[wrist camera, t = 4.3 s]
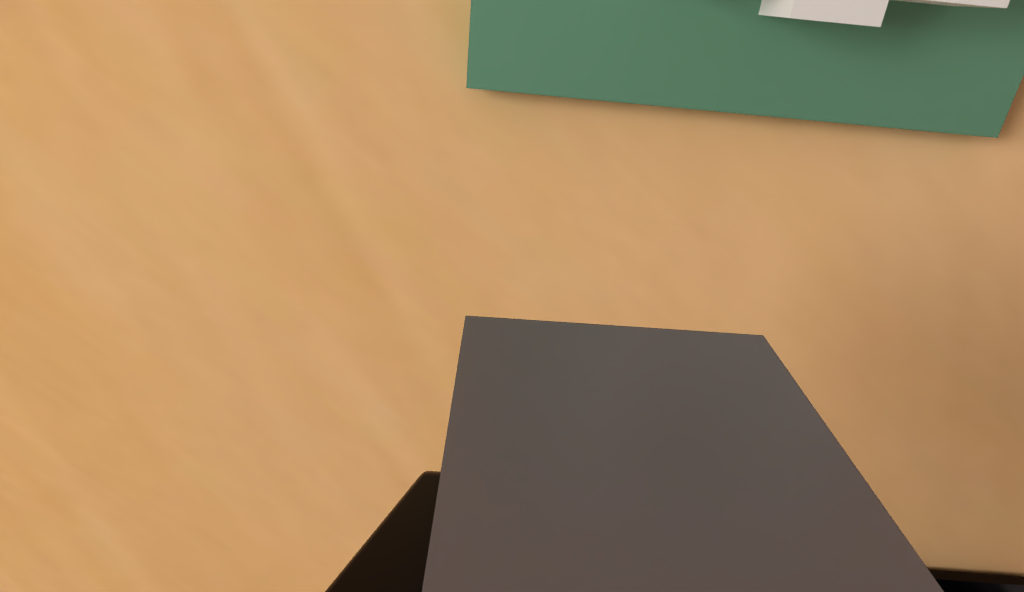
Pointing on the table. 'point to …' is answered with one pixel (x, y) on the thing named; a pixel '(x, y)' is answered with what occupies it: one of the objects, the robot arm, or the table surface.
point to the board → (764, 57)
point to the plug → (648, 471)
